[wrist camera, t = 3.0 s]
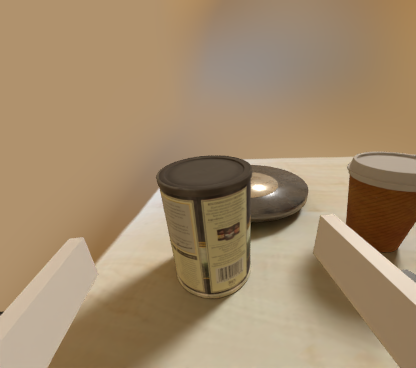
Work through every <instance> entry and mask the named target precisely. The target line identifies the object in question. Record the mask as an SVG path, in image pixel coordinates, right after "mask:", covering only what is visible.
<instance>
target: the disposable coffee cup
mask: <svg viewBox="0 0 416 368" xmlns="http://www.w3.org/2000/svg"><path fill="white" fill-rule="evenodd" d="M347 168H348V170H349V174H350V178H349V179H350V180H349V192H348V205H347V218H346V225H347V226H348V227H350V228H351V229H352V230H353V231H354V232H356V233H357V234H358V235H359V236H360V237H362V238H363V239H364V240H365V241H366V242H367V243H369V244H370V245H371V246H372V247H373V248H375V249H376V250H377V251H378V252H393V251H395V250H397V249H398V247H399V246H400V244H401V243H402V241H403V240H404V239H405V237H406V235H407V234H408V232H409V231H410V229H411V228H412V227H413V225H414V223H415V222H416V155H411V154H404V153H393V152H366V153H360V154H357V155H356V156H354V158H353V160H352V162H350V163H349V164H348V166H347Z"/></svg>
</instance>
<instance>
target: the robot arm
mask: <svg viewBox="0 0 416 368" xmlns="http://www.w3.org/2000/svg"><path fill="white" fill-rule="evenodd" d="M313 254H314V255H315V256H316V258H317V259H318V260H319V262H320V263H321V264H322V266H323V267H324V268H325V269H326V271H327V272H328V273H329V275H330V276H331V277H332V279H333V280H334V281H335V283H336V284H337V285H338V287H339V288H340V289H341V291H342V292H343V293H344V295H345V296H346V297H347V298H348V300H349V301H350V302H351V304H352V305H353V306H354V308H355V309H356V310H357V312H358V313H359V314H360V316H361V317H362V318H363V320H364V321H365V322H366V324H367V325H368V326H369V327H370V329H371V330H372V331H373V333H374V334H375V335H376V337H377V338H378V339H379V341H380V342H381V343H382V345H383V346H384V347H385V349H386V350H387V351H388V353H389V354H390V355H391V356H392V358H393V359H394V360H395V362H396V363H397V364H398V366H399V367H400V368H416V275H415V274H414V273H412V272H410V271H408V270H400V269H398V268H397V267H396V266H395V265H394V264H392V263H391V262H390V261H389V260H388V259H386V258H385V257H384V256H383V255H382V254H381V253H379V252H378V251H377V250H376V249H375V248H373V247H372V246H371V245H370V244H369V243H367V242H366V241H365V240H364V239H363V238H362V237H360V236H359V235H358V234H357V233H356V232H354V231H353V230H352V229H351V228H350V227H348V226H347V225H346V224H345V223H344V222H342V221H341V220H340V219H339V218H338V217H337V216H335V215H334V214H329V215H320V220H319V225H318V230H317V235H316V240H315V246H314V251H313ZM97 276H98V272H97V269H96V267H95V264H94V262H93V260H92V257H91V255H90V252H89V250H88V247H87V245H86V242H85V240H84V238H83V237H81V238H71V239H68V241H67V242H66V243H65V244H64V245H63V246H62V247H61V248H60V250H59V251H58V252H57V253H56V254H55V255H54V256H53V258H52V259H51V260H50V261H49V262H48V263H47V264H46V265H45V266H44V268H43V269H42V270H41V271H40V272H39V273H38V274H37V275H36V277H35V278H34V279H33V280H32V281H31V282H30V283H29V285H28V286H27V287H26V288H25V289H24V290H23V291H22V292H21V293H20V295H19V296H18V297H17V298H16V299H15V300H14V301H13V302H12V304H11V305H10V306H9V307H8V308H7V309H6V310H5V311H4V312H0V368H47V367H48V366H49V364H50V362H51V360H52V358H53V356H54V355H55V353H56V351H57V349H58V347H59V345H60V344H61V342H62V340H63V338H64V336H65V334H66V333H67V331H68V329H69V327H70V325H71V323H72V322H73V320H74V318H75V316H76V314H77V313H78V311H79V309H80V307H81V305H82V303H83V302H84V300H85V298H86V296H87V294H88V292H89V291H90V289H91V287H92V285H93V283H94V281H95V280H96V278H97Z"/></svg>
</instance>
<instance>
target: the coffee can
mask: <svg viewBox="0 0 416 368" xmlns="http://www.w3.org/2000/svg"><path fill="white" fill-rule="evenodd" d="M251 177H252V166H251V165H250V164H249V163H248V162H246V161H244V160H242V159H239V158H235V157H229V156H200V157H194V158H188V159H184V160H180V161H177V162H174V163H172V164H169V165H167V166H165V167H164V168H162V169H161V170H160V171H159V172H158V174H157V176H156V179H157V183H158V186H159V187H160V192H161V197H162V202H163V207H164V212H165V216H166V221H167V226H168V231H169V236H170V241H171V246H172V250H173V255H174V260H175V265H176V273H177V277H178V280H179V282H180V283H181V285H182V286H183V287H184V288H185V289H186V290H187V291H188V292H190V293H192V294H194V295H196V296H200V297H203V298H221V297H224V296H227V295H230V294H232V293H234V292H236V291H237V290H238V289H240V288H241V287H242V286H243V285H244V284H245V282H246V281H247V279H248V277H249V275H250V270H251V263H250V220H251Z"/></svg>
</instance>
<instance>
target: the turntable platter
mask: <svg viewBox="0 0 416 368" xmlns="http://www.w3.org/2000/svg"><path fill="white" fill-rule="evenodd" d="M251 166H252V177H251V220H250V222H265V221H272V220H277V219H281V218H284V217H287V216H290V215H292V214H294V213H296V212H297V211H299V210H300V209H301V208H302V207H303V206H304V205H305V203H306V201H307V196H308V187H307V184H306V183H305V182H304V181H303V180H302V179H301V178H300V177H298V176H297V175H295V174H293V173H291V172H288V171H285V170H282V169H278V168H274V167H268V166H259V165H251Z"/></svg>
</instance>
